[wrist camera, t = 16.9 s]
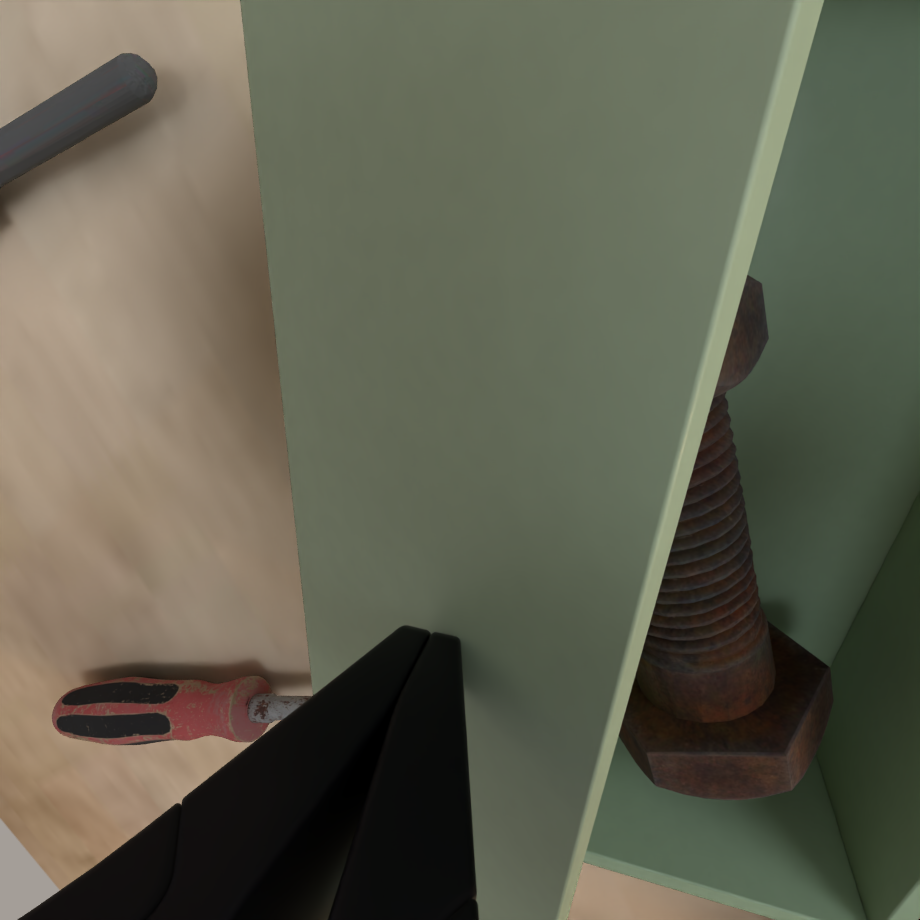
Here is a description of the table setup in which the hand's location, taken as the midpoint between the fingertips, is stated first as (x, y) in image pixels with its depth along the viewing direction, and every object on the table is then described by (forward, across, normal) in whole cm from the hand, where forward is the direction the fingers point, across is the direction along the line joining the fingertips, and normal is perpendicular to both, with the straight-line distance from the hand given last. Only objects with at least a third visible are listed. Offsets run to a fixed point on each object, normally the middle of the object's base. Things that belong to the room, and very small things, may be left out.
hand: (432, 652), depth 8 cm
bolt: (+9, -4, 0) cm, 10 cm away
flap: (+1, 0, 0) cm, 1 cm away
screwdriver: (+10, +9, +14) cm, 20 cm away
